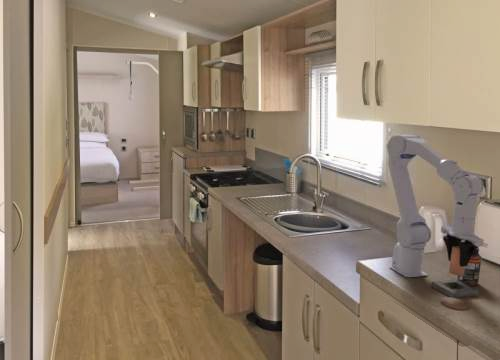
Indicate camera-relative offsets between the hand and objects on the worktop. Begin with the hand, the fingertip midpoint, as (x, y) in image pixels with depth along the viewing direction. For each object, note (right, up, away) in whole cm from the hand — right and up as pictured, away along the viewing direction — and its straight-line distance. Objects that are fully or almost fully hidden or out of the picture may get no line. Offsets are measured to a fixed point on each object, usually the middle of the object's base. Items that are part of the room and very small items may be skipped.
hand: (457, 263), depth 144 cm
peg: (0, -3, +1) cm, 3 cm away
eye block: (-1, -8, +1) cm, 8 cm away
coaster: (-4, -10, -8) cm, 14 cm away
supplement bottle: (+7, -8, +9) cm, 14 cm away
